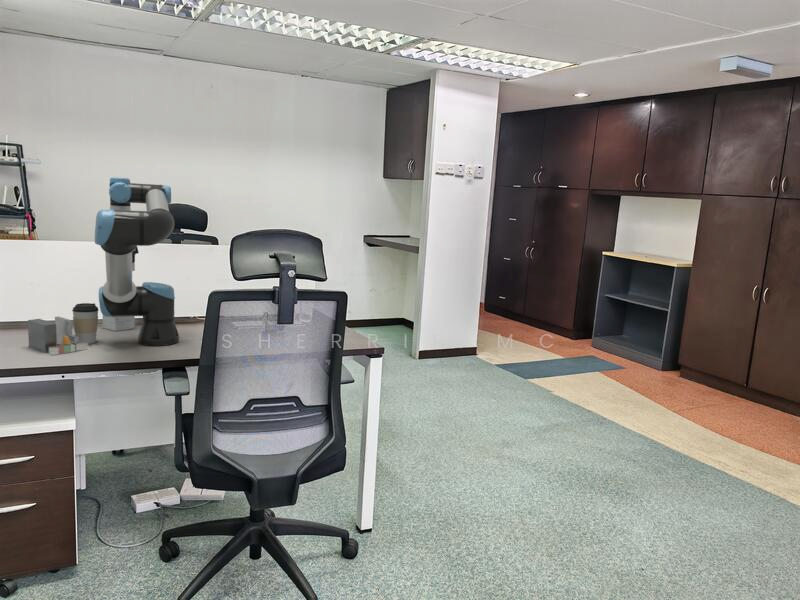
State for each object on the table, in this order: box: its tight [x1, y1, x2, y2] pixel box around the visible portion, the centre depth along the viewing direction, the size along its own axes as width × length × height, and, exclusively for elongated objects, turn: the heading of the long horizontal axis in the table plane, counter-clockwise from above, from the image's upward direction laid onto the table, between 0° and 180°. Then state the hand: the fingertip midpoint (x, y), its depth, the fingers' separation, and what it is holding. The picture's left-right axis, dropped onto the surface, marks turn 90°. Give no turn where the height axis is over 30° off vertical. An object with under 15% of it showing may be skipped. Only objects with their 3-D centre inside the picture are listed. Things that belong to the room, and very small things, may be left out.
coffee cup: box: [71, 302, 99, 345], centre depth 233 cm, size 9×9×15 cm
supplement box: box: [102, 314, 136, 332], centre depth 259 cm, size 10×9×17 cm
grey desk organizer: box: [27, 318, 89, 356], centre depth 223 cm, size 17×13×10 cm
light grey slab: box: [54, 315, 79, 345], centre depth 226 cm, size 14×2×10 cm, turn 56°
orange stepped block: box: [62, 336, 70, 345], centre depth 219 cm, size 3×1×3 cm, turn 56°
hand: (121, 269), depth 248 cm, fingers open, 13 cm apart
